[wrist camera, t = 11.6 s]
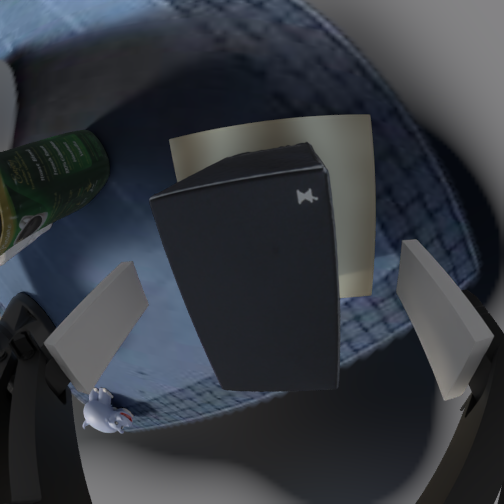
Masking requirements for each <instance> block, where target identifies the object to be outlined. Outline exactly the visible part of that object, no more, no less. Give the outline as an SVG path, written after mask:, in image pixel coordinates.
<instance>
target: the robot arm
mask: <svg viewBox="0 0 504 504" xmlns="http://www.w3.org/2000/svg"><path fill="white" fill-rule="evenodd" d="M396 292H397V294H398V296H399V298H400V300H401V302H402V304H403V306H404V308H405V310H406V312H407V314H408V316H409V318H410V320H411V322H412V324H413V326H414V328H415V331H416V333H417V335H418V337H419V339H420V342H421V344H422V346H423V348H424V351H425V353H426V355H427V358H428V360H429V362H430V365H431V367H432V370H433V372H434V375H435V378H436V380H437V383H438V385H439V388H440V391H441V393H442V396H443V399H444V401H445V400H448V399H452V398H455V397H458V396H461V395H462V394H463V392H464V391H465V389H466V388H467V386H468V384H469V386H470V388H471V391H472V393H471V394H470V396H469V397H468V399H467V400H466V402H465V403H464V404H463V406H462V407H461V409H460V410H461V411H462V410H463V409H464V408H465V409H464V412H463V414H462V417H461V419H460V422H459V424H458V427H457V429H456V431H455V434H454V436H453V438H452V440H451V442H450V445H449V447H448V449H447V451H446V453H445V455H444V457H443V459H442V461H441V462H440V464H439V466H438V468H437V470H436V472H435V473H434V475H433V477H432V478H431V480H430V482H429V484H428V485H427V487H426V488H425V490H424V492H423V493H422V495H421V496H420V498H419V499H418V501H417V502H416V504H494V502H495V500H496V498H497V496H498V493H499V491H500V488H501V486H502V488H501V492H500V496H499V500H498V504H504V333H503V332H502V330H501V329H500V327H499V326H498V325H497V323H496V322H495V320H494V319H493V318H492V316H491V315H490V314H489V313H488V311H487V310H486V308H485V307H484V306H483V304H482V303H481V302H480V300H479V299H478V298H477V297H476V296H475V295H474V294H472V293H471V292H469V291H468V290H460V288H459V287H458V286H457V285H456V284H455V282H454V281H453V280H452V279H451V277H450V276H449V275H448V274H447V273H446V272H445V270H444V269H443V268H442V267H441V266H440V265H439V263H438V262H437V261H436V260H435V259H434V258H433V257H432V256H431V254H430V253H429V252H428V251H427V250H426V249H425V248H424V247H423V246H422V245H421V244H420V243H419V241H418V240H417V239H413V240H402V247H401V258H400V267H399V275H398V283H397V290H396ZM148 305H149V304H148V301H147V299H146V296H145V294H144V291H143V288H142V286H141V283H140V280H139V278H138V275H137V272H136V269H135V266H134V263H133V261H131V262H121V263H120V264H119V265H118V266H117V267H116V268H115V269H114V270H113V271H112V272H111V273H110V274H109V275H108V276H107V277H106V278H105V279H104V280H103V281H102V282H101V283H99V284H98V285H97V286H96V287H95V288H94V289H93V290H92V291H91V292H90V293H89V294H88V295H87V296H86V297H85V298H84V300H83V301H82V302H81V303H80V304H79V305H78V306H77V307H76V308H75V309H74V310H73V311H72V312H71V313H70V314H69V315H68V316H67V317H66V318H65V319H64V321H63V322H62V323H61V324H60V325H59V326H58V327H57V328H55V326H54V325H53V323H52V322H51V320H50V319H49V317H48V316H47V314H46V313H45V312H44V311H43V309H42V308H41V307H40V306H39V305H38V304H37V303H36V302H35V301H34V300H33V299H32V298H30V297H29V296H27V295H26V294H23V293H18V294H17V295H16V296H14V297H13V298H12V299H11V301H10V303H9V304H8V306H7V308H6V310H5V312H4V314H3V316H2V318H1V320H0V504H92V502H91V498H90V495H89V492H88V488H87V484H86V481H85V476H84V473H83V468H82V464H81V459H80V455H79V449H78V443H77V437H76V431H75V424H74V417H73V407H72V395H71V390H70V388H69V387H68V386H67V385H68V384H69V383H70V382H71V383H72V384H73V386H74V387H75V388H76V389H77V391H80V392H83V393H86V394H90V392H91V391H92V389H93V388H94V386H95V384H96V383H97V381H98V380H99V378H100V377H101V375H102V373H103V372H104V370H105V369H106V367H107V366H108V364H109V363H110V361H111V360H112V358H113V356H114V355H115V353H116V352H117V350H118V349H119V347H120V346H121V344H122V343H123V341H124V340H125V339H126V337H127V336H128V334H129V333H130V331H131V330H132V328H133V327H134V325H135V324H136V323H137V321H138V320H139V318H140V317H141V315H142V314H143V313H144V311H145V310H146V308H147V307H148Z"/></svg>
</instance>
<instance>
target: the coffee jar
mask: <svg viewBox="0 0 504 504" xmlns="http://www.w3.org/2000/svg"><path fill="white" fill-rule="evenodd" d="M109 174H110V164H109V160H108V157H107V154H106V151H105V149H104V147H103V145H102V144H101V142H100V141H99V140H98V138H97V137H96V136H95V135H94V134H93V133H92V132H90V131H88V130H80V131H74V132H69V133H65V134H61V135H58V136H54V137H51V138H47V139H44V140H40V141H37V142H33V143H29V144H26V145H23V146H20V147H16V148H13V149H10V150H7V151H3V152H0V256H1V255H2V254H3V253H5V252H6V251H7V250H9V249H10V248H11V247H13V246H14V245H16V244H17V243H19V242H20V241H22V240H23V239H25V238H27V237H28V236H30V235H32V234H34V233H35V232H37V231H39V230H41V229H42V228H44V227H46V226H48V225H49V224H52V223H53V222H55V221H57V220H59V219H61V218H63V217H65V216H67V215H69V214H71V213H73V212H75V211H77V210H79V209H81V208H83V207H84V206H85V205H86V204H88V203H89V202H90V201H91V200H92V199H93V198H94V197H95V196H96V195H97V194H98V193H99V191H100V190H101V189H102V187H103V186H104V185H105V183H106V181H107V180H108V177H109Z"/></svg>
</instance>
